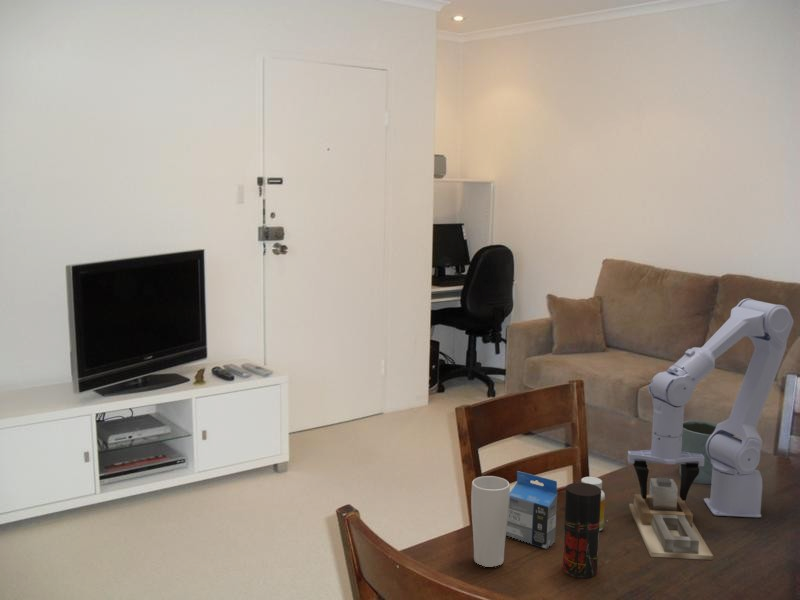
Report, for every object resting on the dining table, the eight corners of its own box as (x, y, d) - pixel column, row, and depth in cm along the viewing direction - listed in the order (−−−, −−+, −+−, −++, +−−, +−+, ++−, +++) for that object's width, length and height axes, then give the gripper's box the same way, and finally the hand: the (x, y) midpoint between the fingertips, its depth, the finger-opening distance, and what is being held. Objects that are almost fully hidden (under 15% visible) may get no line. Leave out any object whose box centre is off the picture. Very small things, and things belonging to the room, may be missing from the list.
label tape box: (504, 537, 155) (506, 476, 153) (515, 529, 158) (517, 470, 156) (546, 550, 150) (548, 487, 148) (556, 542, 153) (558, 480, 151)
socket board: (683, 509, 168) (684, 494, 167) (712, 559, 146) (714, 542, 146) (629, 507, 169) (629, 492, 169) (650, 556, 147) (651, 539, 147)
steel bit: (670, 511, 165) (673, 476, 164) (675, 521, 161) (678, 484, 159) (648, 510, 166) (650, 475, 164) (652, 519, 161) (654, 483, 160)
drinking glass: (497, 575, 140) (500, 493, 138) (463, 564, 144) (464, 484, 141) (513, 559, 146) (516, 480, 144) (480, 550, 149) (482, 472, 147)
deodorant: (558, 562, 145) (562, 483, 143) (590, 561, 146) (594, 482, 143) (568, 578, 139) (571, 496, 137) (601, 577, 140) (606, 495, 137)
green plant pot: (673, 467, 192) (676, 419, 190) (717, 470, 191) (721, 421, 189) (681, 484, 182) (685, 432, 180) (728, 486, 181) (732, 435, 179)
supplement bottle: (601, 521, 162) (603, 475, 160) (605, 533, 157) (607, 486, 155) (574, 520, 163) (576, 474, 161) (577, 532, 157) (579, 484, 156)
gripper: (633, 437, 157) (629, 504, 159) (710, 440, 156) (705, 507, 158) (627, 426, 164) (623, 490, 166) (700, 429, 163) (696, 493, 165)
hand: (663, 497), depth 162 cm, fingers open, 7 cm apart
